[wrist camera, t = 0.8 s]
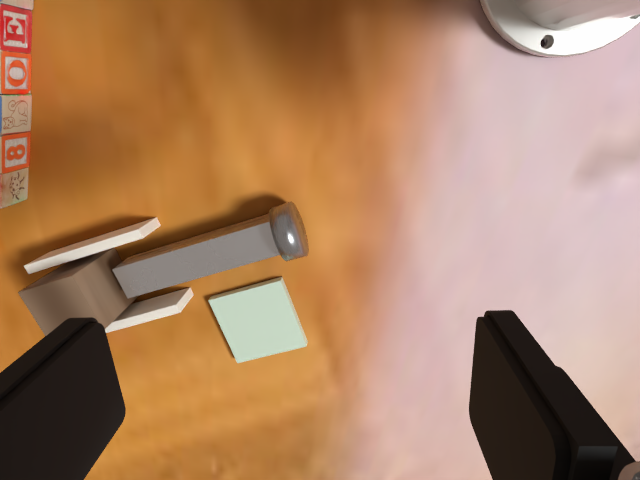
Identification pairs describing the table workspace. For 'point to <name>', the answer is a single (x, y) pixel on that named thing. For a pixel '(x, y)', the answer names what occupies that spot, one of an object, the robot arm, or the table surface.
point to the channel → (135, 311)
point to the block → (78, 292)
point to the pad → (259, 320)
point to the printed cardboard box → (15, 99)
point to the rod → (216, 251)
